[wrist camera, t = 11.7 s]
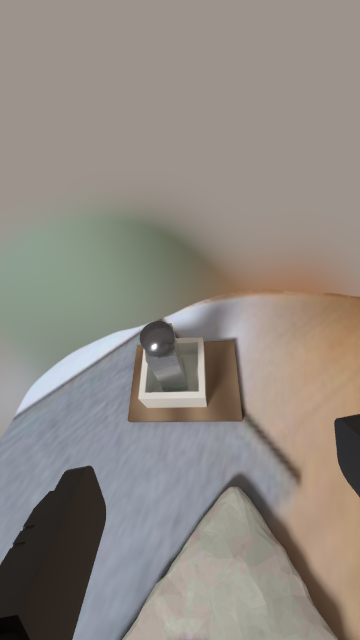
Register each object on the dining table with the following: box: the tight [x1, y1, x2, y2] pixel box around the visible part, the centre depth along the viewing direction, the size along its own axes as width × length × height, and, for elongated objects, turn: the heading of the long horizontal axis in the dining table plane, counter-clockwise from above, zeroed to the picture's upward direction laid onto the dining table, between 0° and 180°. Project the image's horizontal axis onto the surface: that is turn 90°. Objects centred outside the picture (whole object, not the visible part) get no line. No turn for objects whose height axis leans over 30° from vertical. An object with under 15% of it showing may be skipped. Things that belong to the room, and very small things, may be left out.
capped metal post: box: [140, 321, 188, 392], centre depth 32 cm, size 4×4×13 cm
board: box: [128, 341, 242, 422], centre depth 38 cm, size 16×12×1 cm
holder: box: [138, 337, 207, 408], centre depth 36 cm, size 9×9×5 cm
